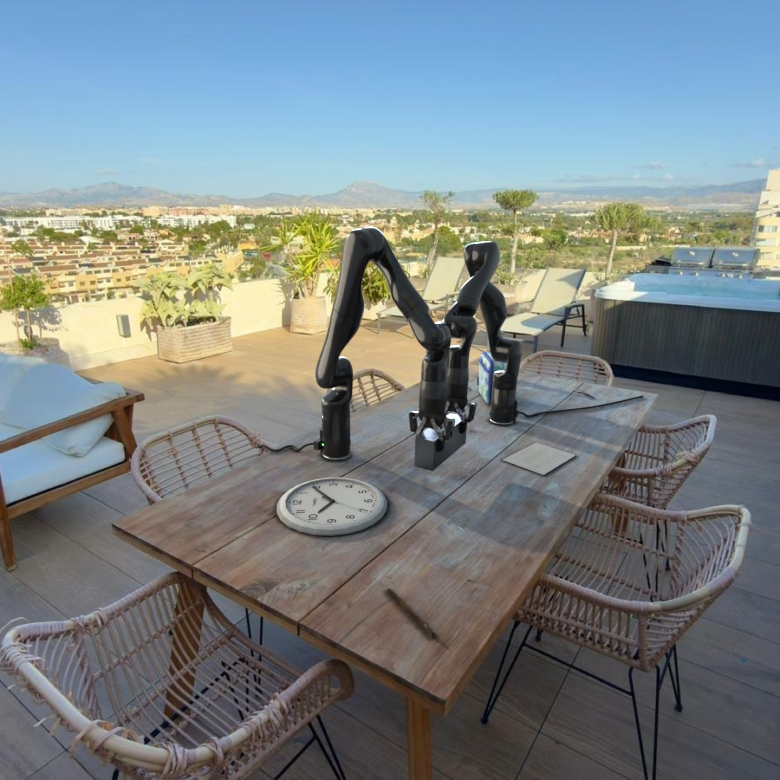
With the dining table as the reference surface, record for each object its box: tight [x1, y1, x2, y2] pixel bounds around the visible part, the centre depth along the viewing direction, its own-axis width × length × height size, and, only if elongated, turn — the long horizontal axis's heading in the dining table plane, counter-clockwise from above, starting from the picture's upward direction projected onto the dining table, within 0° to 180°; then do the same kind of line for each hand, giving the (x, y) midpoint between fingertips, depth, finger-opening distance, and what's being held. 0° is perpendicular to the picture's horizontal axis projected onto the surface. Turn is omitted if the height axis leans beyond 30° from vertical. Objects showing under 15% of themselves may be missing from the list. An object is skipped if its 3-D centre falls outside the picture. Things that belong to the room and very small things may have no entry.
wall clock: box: [276, 476, 388, 537], centre depth 142 cm, size 30×2×30 cm
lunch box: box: [476, 351, 507, 406], centre depth 230 cm, size 26×11×21 cm, turn 179°
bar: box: [413, 412, 467, 472], centre depth 159 cm, size 24×6×9 cm, turn 149°
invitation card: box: [502, 442, 577, 476], centre depth 174 cm, size 21×1×15 cm
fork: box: [572, 384, 595, 399], centre depth 243 cm, size 3×16×2 cm, turn 16°
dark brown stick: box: [386, 587, 434, 638], centre depth 103 cm, size 15×1×1 cm, turn 34°
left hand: (430, 448), depth 152 cm, fingers closed on bar, 6 cm apart
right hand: (453, 430), depth 165 cm, fingers closed on bar, 6 cm apart
